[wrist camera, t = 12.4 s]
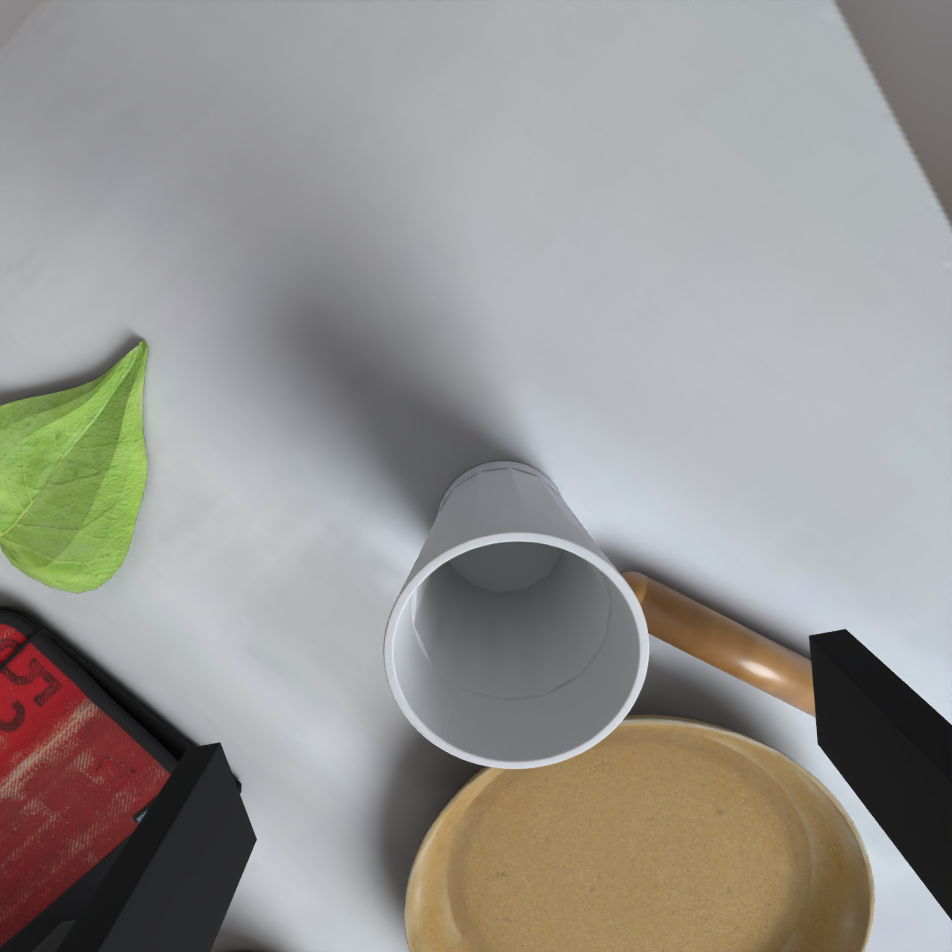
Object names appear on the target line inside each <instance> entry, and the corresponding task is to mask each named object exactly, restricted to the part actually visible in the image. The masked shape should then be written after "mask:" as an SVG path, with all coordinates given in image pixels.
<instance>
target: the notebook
mask: <svg viewBox="0 0 952 952" xmlns="http://www.w3.org/2000/svg"><path fill="white" fill-rule="evenodd" d="M192 747H194V746H193V745H191V744H190V743H189V742H187V741H186V740H185V739H184V738H182V737H181V736H180V735H178V734H177V733H176V732H175V731H174V730H172V729H171V728H170V727H168V726H167V725H166V724H165V723H163V722H162V721H161V720H159V719H158V718H157V717H156V716H154V715H153V714H152V713H151V712H149V711H148V710H147V709H146V708H144V707H143V706H142V705H141V704H139V703H138V702H137V701H136V700H134V699H133V698H132V697H131V696H129V695H128V694H127V693H126V692H124V691H123V690H122V689H121V688H119V687H118V686H117V685H116V684H114V683H113V682H112V681H110V680H109V679H108V678H107V677H105V676H104V675H103V674H102V673H101V672H99V671H98V670H97V669H96V668H94V667H93V666H92V665H91V664H89V663H88V662H87V661H86V660H84V659H83V658H82V657H80V656H79V655H78V654H77V653H75V652H74V651H73V650H71V649H70V648H69V647H68V646H66V645H65V644H64V643H63V642H61V641H60V640H59V639H58V638H56V637H55V636H54V635H53V634H51V633H49V632H47V629H46V628H45V627H41V626H40V625H39V624H38V623H37V622H36V621H35V620H33V619H32V618H31V617H29V616H28V615H26V614H25V613H23V612H21V611H19V610H17V609H15V608H11V607H6V606H0V952H33V951H34V950H35V949H36V948H37V947H38V946H39V945H40V944H41V943H42V942H43V941H44V940H45V939H46V938H47V937H48V936H49V935H50V934H51V933H52V932H53V931H54V930H55V929H56V928H57V927H58V926H59V925H60V924H61V923H62V922H65V921H71V920H76V919H77V918H78V916H79V915H80V913H81V912H82V910H83V909H84V907H85V905H86V904H87V902H88V901H89V899H90V898H91V896H92V895H93V893H94V892H95V890H96V889H97V887H98V886H99V884H100V882H101V881H102V879H103V878H104V876H105V875H106V873H107V872H108V870H109V869H110V867H111V866H112V864H113V863H114V861H115V859H116V858H117V856H118V855H119V853H120V852H121V850H122V849H123V847H124V846H125V844H126V843H127V841H128V840H129V838H130V836H131V835H132V833H133V832H134V830H135V829H136V827H137V826H138V824H139V823H140V821H141V820H142V818H143V817H144V815H145V813H146V812H147V810H148V809H149V807H150V806H151V804H152V803H153V801H154V800H155V798H156V797H157V795H158V793H159V792H160V790H161V789H162V787H163V786H164V784H165V783H166V781H167V780H168V778H169V777H170V775H171V774H172V772H173V770H174V769H175V767H176V766H177V764H178V763H179V761H180V760H181V758H182V757H183V755H184V754H185V752H186V751H187V749H188V748H192ZM233 778H234V777H233ZM234 780H235V783H236V786H237V788H238V791H239V793H241V783H240V782H239V781H238V780H237V779H235V778H234Z"/></svg>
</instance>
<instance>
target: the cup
mask: <svg viewBox="0 0 952 952" xmlns="http://www.w3.org/2000/svg"><path fill="white" fill-rule="evenodd" d="M383 653H384V666H385V672H386V676H387V680H388V684H389V687H390V689H391V692H392V694H393V697H394V699H395V701H396V702H397V704H398V706H399V708H400V709H401V711H402V712H403V714H404V715H405V717H406V718H407V719H408V721H409V722H410V723H411V724H412V725H413V726H414V727H415V728H416V729H417V730H418V732H420V733H421V734H422V735H423V736H424V737H425V738H426V739H428V740H429V741H430V742H432V743H433V744H435V745H436V746H437V747H439V748H441V749H442V750H444V751H446V752H448V753H450V754H452V755H454V756H456V757H458V758H461V759H463V760H466V761H469V762H472V763H475V764H479V765H483V766H488V767H494V768H503V769H526V768H535V767H542V766H547V765H551V764H555V763H558V762H561V761H564V760H567V759H569V758H572V757H574V756H576V755H578V754H580V753H582V752H584V751H586V750H588V749H590V748H591V747H593V746H594V745H596V744H597V743H599V742H600V741H601V740H603V739H604V738H605V737H606V736H608V735H609V734H610V733H611V732H612V731H613V730H614V729H615V728H616V727H617V726H618V725H619V724H620V723H621V722H622V720H623V719H624V718H625V717H626V715H627V714H628V713H629V711H630V710H631V708H632V707H633V705H634V703H635V701H636V700H637V698H638V695H639V693H640V691H641V689H642V686H643V683H644V680H645V677H646V673H647V668H648V661H649V636H648V629H647V624H646V620H645V617H644V614H643V611H642V608H641V606H640V604H639V601H638V599H637V597H636V596H635V594H634V592H633V591H632V589H631V587H630V586H629V585H628V583H627V582H626V581H625V579H624V578H623V577H622V576H621V574H620V573H619V572H618V571H617V569H616V568H615V567H614V566H613V564H612V563H611V562H610V561H609V559H608V558H607V557H606V556H605V554H604V553H603V552H602V551H601V549H600V548H599V547H598V546H597V544H596V543H595V542H594V540H593V539H592V538H591V536H590V535H589V534H588V532H587V531H586V530H585V528H584V527H583V526H582V524H581V523H580V522H579V520H578V519H577V518H576V516H575V515H574V514H573V512H572V511H571V510H570V508H569V507H568V506H567V504H566V503H565V501H564V500H563V497H562V495H561V494H560V492H559V490H558V489H557V487H556V486H555V485H554V484H553V482H552V481H551V480H550V479H549V478H548V477H546V476H545V475H544V474H543V473H541V472H540V471H538V470H536V469H534V468H532V467H530V466H528V465H525V464H522V463H518V462H512V461H495V462H489V463H485V464H481V465H479V466H476V467H474V468H472V469H470V470H468V471H467V472H465V473H464V474H462V475H461V476H460V477H459V478H457V479H456V480H455V481H454V482H453V483H452V485H451V486H450V487H449V489H448V490H447V491H446V493H445V495H444V497H443V499H442V501H441V504H440V507H439V511H438V515H437V518H436V520H435V522H434V524H433V526H432V528H431V531H430V533H429V535H428V537H427V539H426V542H425V544H424V546H423V548H422V550H421V552H420V555H419V557H418V559H417V560H416V562H415V564H414V566H413V568H412V570H411V572H410V574H409V576H408V578H407V580H406V582H405V584H404V586H403V588H402V590H401V592H400V594H399V596H398V598H397V600H396V602H395V604H394V606H393V608H392V610H391V613H390V616H389V619H388V622H387V626H386V630H385V636H384V650H383Z"/></svg>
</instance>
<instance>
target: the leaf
mask: <svg viewBox="0 0 952 952" xmlns="http://www.w3.org/2000/svg"><path fill="white" fill-rule="evenodd" d="M147 354H148V346H147V343H146V342H145V341H144V340H143V341H141V342H140V343H139V344H138V345H137V346H136V347H135V348H134V349H133V350H132V351H130V352H129V353H128V354H127V355H125V356H124V357H123V358H122V359H121V360H119V361H118V362H117V363H116V364H115V365H114V366H113V367H112V368H111V369H109V370H108V371H107V372H106V373H104V374H103V375H102V376H100V377H98V378H97V379H95V380H93V381H91V382H88V383H86V384H84V385H81V386H78V387H75V388H72V389H69V390H64V391H60V392H56V393H52V394H46V395H41V396H35V397H31V398H26V399H22V400H18V401H13V402H10V403H7V404H5V405H2V406H0V545H1V548H2V551H3V553H4V554H5V556H6V557H7V558H8V560H9V561H10V563H11V564H12V565H13V566H15V567H16V568H17V569H19V570H20V571H21V572H23V573H24V574H25V575H27V576H28V577H30V578H32V579H34V580H36V581H38V582H41V583H43V584H45V585H47V586H49V587H51V588H54V589H59V590H63V591H68V592H72V593H82V592H86V591H90V590H94V589H97V588H98V587H100V586H101V585H102V584H103V583H105V582H106V581H107V580H108V579H110V578H111V577H112V576H113V575H114V574H115V572H116V571H117V570H118V569H119V568H120V566H121V565H122V563H123V561H124V559H125V557H126V555H127V553H128V550H129V547H130V543H131V539H132V535H133V531H134V527H135V523H136V519H137V515H138V511H139V508H140V505H141V501H142V498H143V494H144V490H145V485H146V480H147V454H146V448H145V442H144V431H143V389H144V378H145V368H146V360H147Z"/></svg>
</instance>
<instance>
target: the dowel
mask: <svg viewBox="0 0 952 952" xmlns="http://www.w3.org/2000/svg"><path fill="white" fill-rule="evenodd" d="M621 576H622V577H623V578H624V579H625V581H626V582H627V583H628V585H629V586H630V587H631V589H632V591H633V592H634V594H635V596H636V597H637V599H638V601H639V604H640V606H641V608H642V611H643V614H644V617H645V620H646V624H647V629H648V633H649V634H651V635H653V636H655V637H657V638H659V639H661V640H663V641H665V642H667V643H669V644H671V645H672V646H674V647H676V648H678V649H680V650H682V651H684V652H686V653H688V654H690V655H692V656H694V657H696V658H698V659H700V660H702V661H704V662H706V663H708V664H710V665H712V666H714V667H716V668H718V669H720V670H722V671H724V672H726V673H728V674H730V675H732V676H734V677H736V678H738V679H740V680H742V681H744V682H746V683H748V684H750V685H752V686H754V687H756V688H758V689H760V690H762V691H764V692H766V693H768V694H770V695H772V696H774V697H776V698H778V699H780V700H782V701H784V702H786V703H788V704H790V705H792V706H794V707H796V708H798V709H800V710H802V711H804V712H806V713H808V714H810V715H812V716H814V717H816V715H815V703H814V690H813V678H812V666H811V660H809V659H807V658H805V657H803V656H801V655H799V654H797V653H795V652H793V651H791V650H789V649H787V648H785V647H783V646H781V645H780V644H778V643H776V642H774V641H772V640H770V639H768V638H766V637H764V636H762V635H760V634H758V633H756V632H754V631H752V630H750V629H748V628H746V627H745V626H743V625H741V624H739V623H737V622H735V621H733V620H731V619H729V618H727V617H725V616H723V615H721V614H719V613H717V612H715V611H713V610H712V609H710V608H708V607H706V606H704V605H702V604H700V603H698V602H696V601H694V600H692V599H690V598H688V597H686V596H684V595H682V594H680V593H679V592H677V591H675V590H673V589H671V588H669V587H667V586H665V585H663V584H661V583H659V582H657V581H655V580H653V579H651V578H649V577H647V576H645V575H644V574H641V573H638V572H633V571H632V572H624V573H621Z"/></svg>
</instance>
